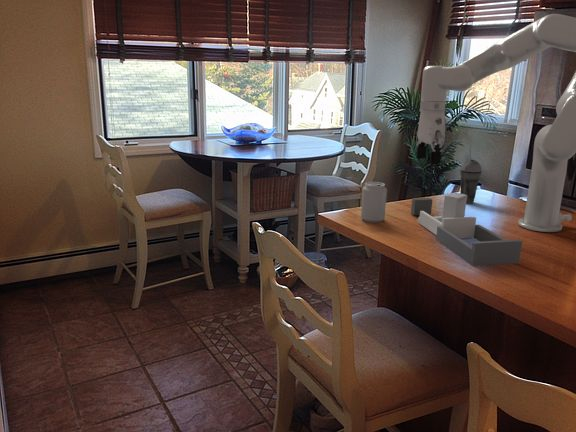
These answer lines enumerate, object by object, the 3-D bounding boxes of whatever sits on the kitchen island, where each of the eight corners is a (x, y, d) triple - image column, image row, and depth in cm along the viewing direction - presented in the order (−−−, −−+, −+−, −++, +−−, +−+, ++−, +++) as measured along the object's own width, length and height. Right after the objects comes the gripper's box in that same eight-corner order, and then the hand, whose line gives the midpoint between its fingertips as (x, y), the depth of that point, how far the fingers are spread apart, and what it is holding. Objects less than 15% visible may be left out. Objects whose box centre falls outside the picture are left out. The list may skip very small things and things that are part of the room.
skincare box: (453, 238, 154) (457, 198, 150) (439, 234, 156) (444, 195, 153) (463, 233, 158) (467, 194, 154) (450, 230, 161) (454, 191, 157)
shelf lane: (477, 237, 154) (480, 217, 153) (519, 263, 136) (522, 240, 134) (435, 239, 152) (438, 219, 150) (472, 265, 133) (475, 243, 131)
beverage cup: (480, 205, 189) (487, 149, 183) (459, 204, 189) (466, 149, 183) (473, 199, 196) (480, 146, 190) (454, 199, 196) (460, 145, 190)
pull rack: (433, 212, 178) (434, 195, 176) (473, 237, 153) (476, 217, 152) (405, 213, 176) (406, 196, 174) (441, 239, 152) (444, 219, 150)
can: (384, 224, 165) (387, 186, 162) (360, 222, 166) (362, 185, 163) (384, 217, 172) (387, 181, 169) (361, 215, 174) (363, 180, 170)
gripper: (457, 109, 158) (451, 166, 162) (431, 104, 174) (426, 156, 179) (434, 109, 156) (429, 166, 161) (409, 104, 172) (405, 156, 177)
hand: (427, 161), depth 170 cm, fingers open, 9 cm apart
